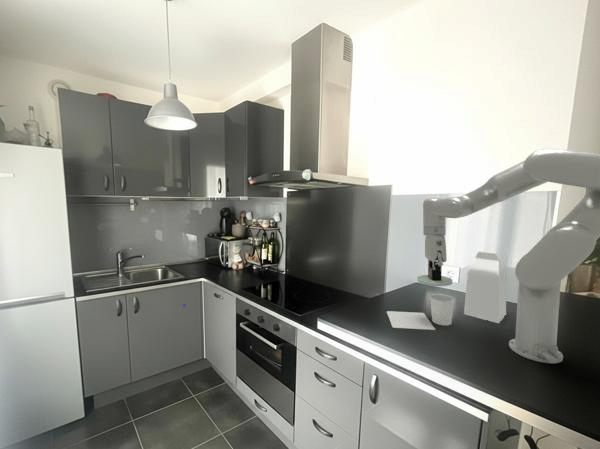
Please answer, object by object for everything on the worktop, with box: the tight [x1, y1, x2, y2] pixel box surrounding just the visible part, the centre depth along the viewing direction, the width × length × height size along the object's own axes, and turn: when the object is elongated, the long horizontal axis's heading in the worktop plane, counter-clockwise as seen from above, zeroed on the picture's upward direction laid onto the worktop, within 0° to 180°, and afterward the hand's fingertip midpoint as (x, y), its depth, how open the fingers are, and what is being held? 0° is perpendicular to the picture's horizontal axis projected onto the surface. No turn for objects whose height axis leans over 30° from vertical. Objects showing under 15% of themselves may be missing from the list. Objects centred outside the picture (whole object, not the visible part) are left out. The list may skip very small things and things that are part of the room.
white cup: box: [430, 293, 455, 326], centre depth 104 cm, size 8×8×10 cm
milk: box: [463, 250, 507, 324], centre depth 110 cm, size 12×12×26 cm
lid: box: [416, 268, 453, 287], centre depth 103 cm, size 12×12×5 cm
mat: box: [386, 310, 436, 331], centre depth 107 cm, size 15×15×1 cm
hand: (434, 278), depth 103 cm, fingers closed on lid, 3 cm apart
